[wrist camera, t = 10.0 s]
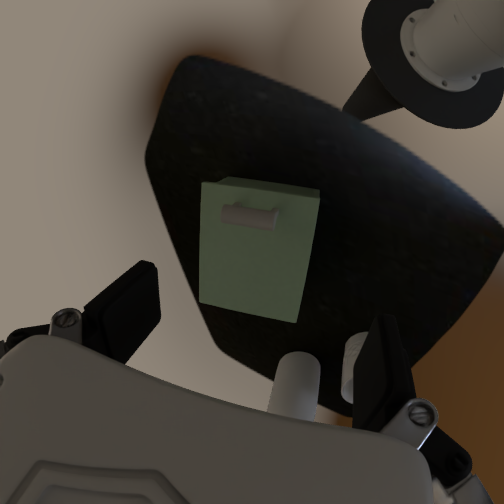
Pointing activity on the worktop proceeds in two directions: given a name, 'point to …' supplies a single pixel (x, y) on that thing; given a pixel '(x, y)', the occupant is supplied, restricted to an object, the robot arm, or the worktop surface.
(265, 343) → the worktop surface
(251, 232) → the lid
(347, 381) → the white cup
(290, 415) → the milk bottle
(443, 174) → the worktop surface
